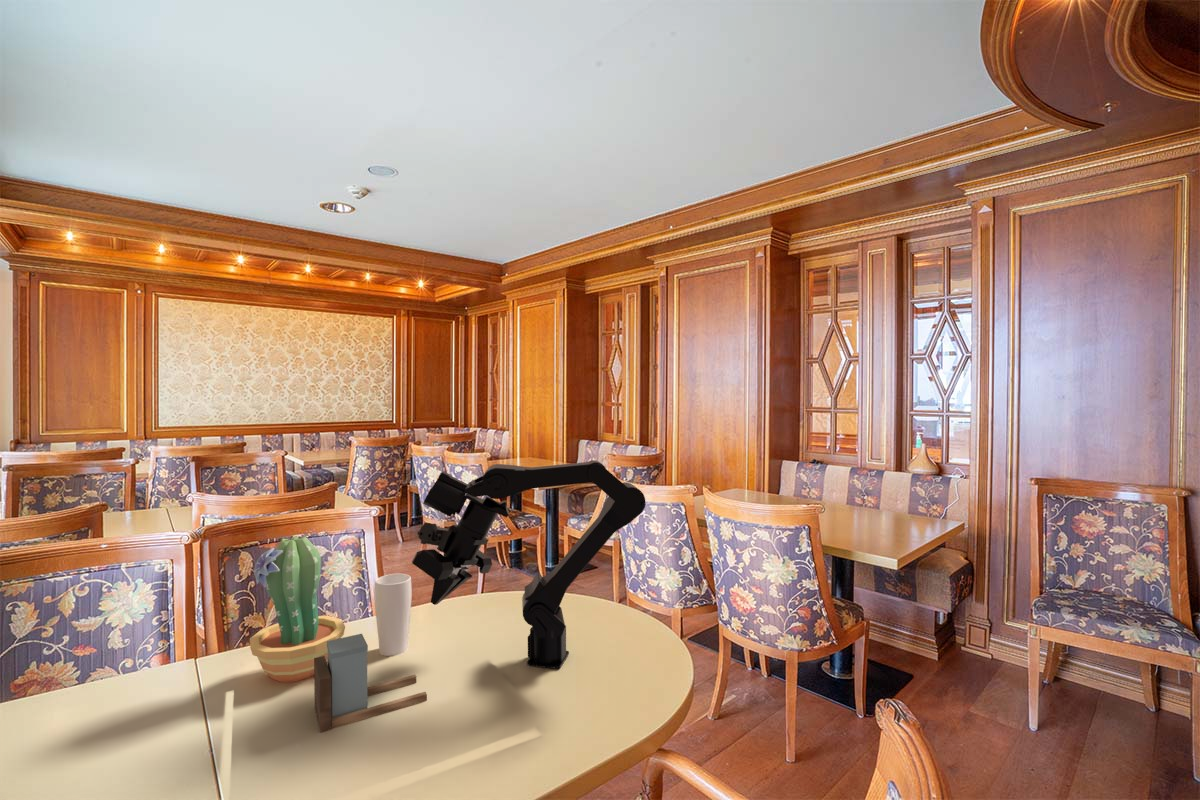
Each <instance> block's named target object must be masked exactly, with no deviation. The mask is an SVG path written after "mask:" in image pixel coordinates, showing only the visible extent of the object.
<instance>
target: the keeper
mask: <svg viewBox="0 0 1200 800" xmlns="http://www.w3.org/2000/svg"><path fill="white" fill-rule="evenodd" d="M327 648H328V663H327V665H328V668H329V671H330V674H331V677H332V718H334V717H338V716H341V715H345V714H348V713H352V712H355V711H359V710H362V709H366V708H369V705H368V704H369V703H368V696H367V687H368V651H369V650H368V649H369V645H368V643H367V641H366V640H365V637H364V635H363V633H358V634H354V635H349V636H345V637H341V638H339V639H334V640H330V641H327Z"/></svg>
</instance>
